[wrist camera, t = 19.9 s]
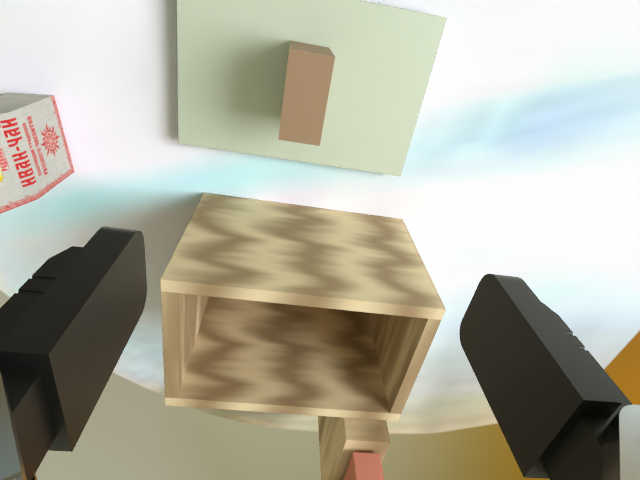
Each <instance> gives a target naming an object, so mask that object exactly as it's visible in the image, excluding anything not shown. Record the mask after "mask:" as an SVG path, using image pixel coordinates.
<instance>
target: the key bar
mask: <svg viewBox="0 0 640 480" xmlns="http://www.w3.org/2000/svg"><path fill="white" fill-rule="evenodd" d="M343 480H384V476H383V470H382V464H381V459H380V454H376V453H359V452H353V454H352V457H351V460H350V462H349V465H348V468H347V471H346V473H345V476H344V479H343Z"/></svg>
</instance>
